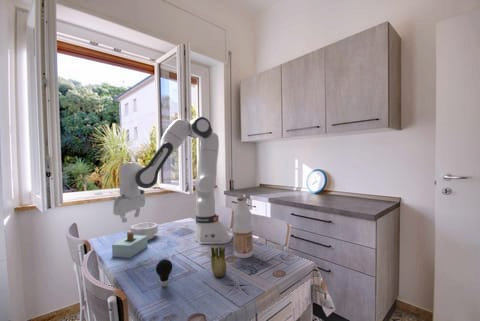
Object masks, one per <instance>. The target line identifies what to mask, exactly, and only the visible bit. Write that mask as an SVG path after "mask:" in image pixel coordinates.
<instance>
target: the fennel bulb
mask: <svg viewBox="0 0 480 321" xmlns="http://www.w3.org/2000/svg"><path fill="white" fill-rule="evenodd" d="M210 253H211V258H210V260H211V262H210V263H211V264H210V265H211V271H212V273H213V275H214V277H215V278H223V277H224V276H225V275H227V274H226V273H227V261H226V256H225V255H226V246H222V245H218V246H211V247H210Z"/></svg>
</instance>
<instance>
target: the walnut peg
mask: <svg viewBox="0 0 480 321" xmlns="http://www.w3.org/2000/svg"><path fill="white" fill-rule="evenodd" d="M126 237H127V242H132V241H134V232H133V231H131V230H130V231H128V232H127V233H126Z"/></svg>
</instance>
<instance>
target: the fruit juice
mask: <svg viewBox="0 0 480 321" xmlns="http://www.w3.org/2000/svg"><path fill="white" fill-rule="evenodd" d="M236 201H237V204H236V208H235V210H234V212H233V218H232V219H233V226H232V228H233V229H232V230H233V232H232V233H233V234H232V239H233V255H234V257H236V258H237V259H247V258H250V257H252V256H253V253H254V249H253V245H254V244H253V239H254V238H253V224H252V217H253V216H252V212H251V211H250V208H249V205H248V197H246V196H245V197H244V196H240V197H237V199H236Z"/></svg>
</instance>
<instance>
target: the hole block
mask: <svg viewBox="0 0 480 321" xmlns="http://www.w3.org/2000/svg"><path fill="white" fill-rule="evenodd" d="M111 246H112V247H111V251H112V252H111V253H112V254H111V255H112V256H114V258H125V259H131V258H132V257H134V256H135V255H137V254H139V253H140V252H141V251H144V250H145V249H146V248H148V240H147V236H140V235H134V241H132V242H127V236H126V237H125V238H122V239H121V240H119V241H118V240H117V241H116V242H115V243H112V244H111Z"/></svg>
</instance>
